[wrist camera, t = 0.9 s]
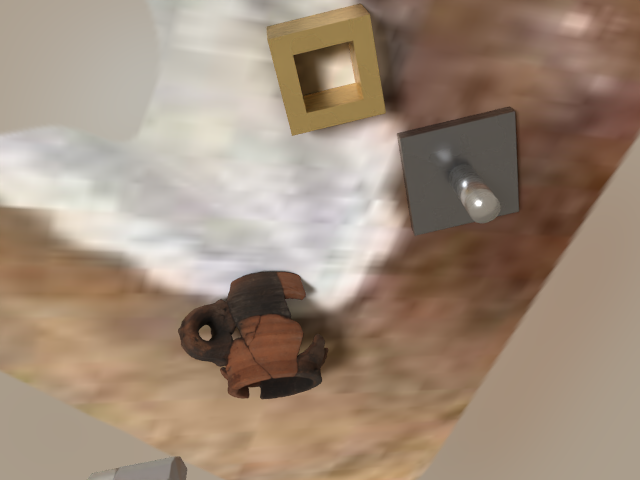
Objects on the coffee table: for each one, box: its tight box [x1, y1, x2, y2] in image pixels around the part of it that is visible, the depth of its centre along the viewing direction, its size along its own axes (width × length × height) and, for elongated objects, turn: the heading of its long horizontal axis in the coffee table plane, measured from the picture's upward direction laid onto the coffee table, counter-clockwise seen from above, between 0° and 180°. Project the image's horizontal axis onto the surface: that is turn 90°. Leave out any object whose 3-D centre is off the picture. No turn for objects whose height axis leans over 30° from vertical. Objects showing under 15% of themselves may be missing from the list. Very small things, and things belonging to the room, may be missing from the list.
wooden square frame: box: [267, 4, 386, 136], centre depth 37 cm, size 6×6×4 cm
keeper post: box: [397, 107, 519, 235], centre depth 40 cm, size 8×8×6 cm
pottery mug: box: [178, 272, 328, 399], centre depth 46 cm, size 12×10×8 cm
